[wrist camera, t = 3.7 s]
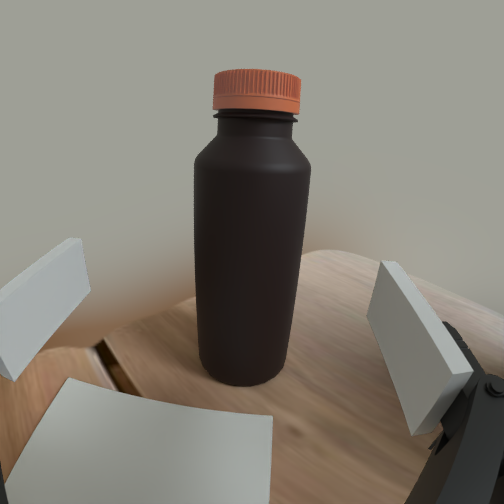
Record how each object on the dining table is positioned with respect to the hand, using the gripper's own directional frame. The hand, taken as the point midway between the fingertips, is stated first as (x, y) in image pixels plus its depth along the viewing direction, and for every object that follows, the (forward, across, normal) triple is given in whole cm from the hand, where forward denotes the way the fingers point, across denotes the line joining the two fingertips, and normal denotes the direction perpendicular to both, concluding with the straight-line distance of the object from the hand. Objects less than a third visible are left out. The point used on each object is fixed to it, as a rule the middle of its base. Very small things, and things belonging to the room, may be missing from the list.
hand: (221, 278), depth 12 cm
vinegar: (+7, +1, -11) cm, 13 cm away
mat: (-12, -4, -11) cm, 17 cm away
